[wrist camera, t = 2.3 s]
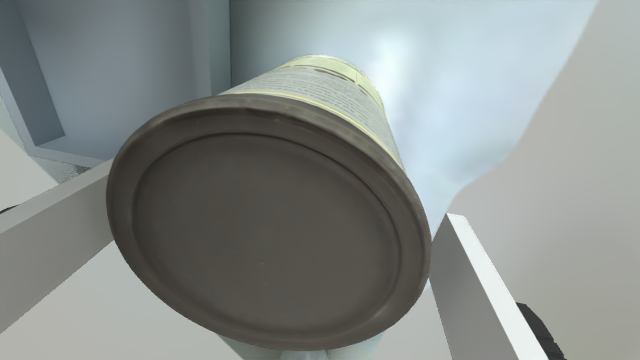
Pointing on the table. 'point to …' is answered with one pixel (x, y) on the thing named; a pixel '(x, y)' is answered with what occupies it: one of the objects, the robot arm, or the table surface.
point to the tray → (106, 69)
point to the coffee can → (275, 210)
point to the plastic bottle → (304, 355)
